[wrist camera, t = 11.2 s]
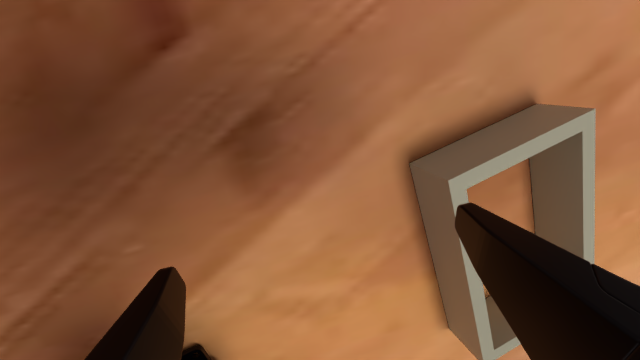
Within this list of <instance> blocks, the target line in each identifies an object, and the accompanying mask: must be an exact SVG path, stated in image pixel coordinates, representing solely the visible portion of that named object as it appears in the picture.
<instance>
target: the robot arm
mask: <svg viewBox="0 0 640 360" xmlns="http://www.w3.org/2000/svg"><path fill="white" fill-rule="evenodd" d="M455 229H456V232H457V234H458V236H459V238H460V240H461V242H462V244H463V246H464V248H465V250H466V253H467V255H468V257H469V259H470V261H471V263H472V265H473V267H474V269H475V271H476V273H477V274H478V276H479V278H480V279H481V281H482V282H483V284H484V286H485V287H486V289H487V290H488V292H489V294H490V295H491V297H492V298H493V300H494V302H495V303H496V305H497V306H498V308H499V310H500V311H501V313H502V314H503V316H504V318H505V319H506V321H507V322H508V324H509V326H510V327H511V329H512V330H513V332H514V334H515V335H516V337H517V338H518V340H519V342H520V343H521V345H522V346H523V348H524V350H525V351H526V353H527V354H528V356H529V358H530V359H531V360H640V286H638V285H636V284H634V283H631V282H629V281H627V280H625V279H623V278H621V277H619V276H617V275H615V274H613V273H611V272H609V271H607V270H605V269H603V268H601V267H599V266H597V265H595V264H591V263H590V262H589V261H587V260H585V259H583V258H581V257H579V256H577V255H575V254H573V253H571V252H569V251H567V250H565V249H563V248H561V247H559V246H557V245H555V244H553V243H551V242H549V241H547V240H545V239H543V238H541V237H539V236H537V235H535V234H533V233H531V232H529V231H527V230H525V229H523V228H521V227H519V226H517V225H515V224H513V223H511V222H509V221H507V220H505V219H503V218H501V217H499V216H497V215H495V214H493V213H491V212H489V211H487V210H485V209H483V208H481V207H479V206H477V205H476V204H473V203H465V204H461V205H459V206H458V207H457V211H456V217H455ZM185 303H186V286H185V283H184V281H183V279H182V278H181V276H180V274H179V273H178V271H177V270H176V268H174V267H168V268H163V269H160V270H159V271H158V272H157V273H156V274H155V275H154V276H153V278H152V279H151V280H150V281H149V282H148V284H147V285H146V286H145V287H144V288H143V290H142V291H141V292H140V293H139V294H138V296H137V297H136V298H135V299H134V300H133V302H132V303H131V304H130V305H129V306H128V308H127V309H126V310H125V311H124V312H123V314H122V315H121V316H120V317H119V318H118V320H117V321H116V322H115V323H114V324H113V326H112V327H111V328H110V329H109V330H108V332H107V333H106V334H105V335H104V336H103V338H102V339H101V340H100V341H99V343H98V344H97V345H96V346H95V347H94V349H93V350H92V351H91V352H90V353H89V355H88V356H87V357H86V358H85V359H84V360H211V359H210V357H209V356H208V354H207V353H206V352H205V350H204V349H203V347H201V346H199V345H196V346H193V347H191V348H189V349H187V350H185V351H183V352H182V350H183V342H184V331H185ZM196 352H197V354H194V353H196Z"/></svg>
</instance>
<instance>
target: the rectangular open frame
mask: <svg viewBox="0 0 640 360" xmlns="http://www.w3.org/2000/svg"><path fill="white" fill-rule="evenodd" d="M527 158H529V161H530V173H531V186H532V198H533V210H534V223H535V235H537V236H539V237H541V238H543V239H545V240H547V241H549V242H551V243H553V244H555V245H557V246H559V247H561V248H563V249H565V250H567V251H569V252H571V253H573V254H575V255H577V256H579V257H581V258H583V259H585V260H587V261H589V262H590V263H591V264H594V233H595V109H594V108H581V107H569V106H557V105H545V104H535V105H533V106H531V107H529V108H527V109H525V110H523V111H520V112H518V113H516V114H514V115H512V116H510V117H508V118H505V119H503V120H501V121H499V122H497V123H495V124H493V125H490V126H488V127H486V128H484V129H482V130H480V131H478V132H475V133H473V134H471V135H469V136H467V137H465V138H463V139H460V140H458V141H456V142H454V143H452V144H450V145H448V146H445V147H443V148H441V149H439V150H437V151H435V152H433V153H430V154H428V155H426V156H424V157H422V158H420V159H418V160H415V161H413V162H411V163H409V165H410V169H411V173H412V177H413V181H414V185H415V190H416V194H417V198H418V202H419V206H420V210H421V214H422V218H423V222H424V227H425V231H426V235H427V239H428V243H429V247H430V251H431V255H432V259H433V264H434V268H435V272H436V276H437V280H438V284H439V288H440V292H441V297H442V301H443V305H444V309H445V313H446V317H447V321H448V325H449V329H450V330H451V331H452V332H453V333H454V335H455V336H456V337H457V338H458V339H459V340H460V341H461V342H462V343H463V344H464V345H465V346H466V347H467V348H468V350H469V351H470V352H471V353H472V354H473V355H474V356H475V357H476V358H477V359H478V360H496V359H497V358H499V357H501V356H502V355H504V354H505V353H507V352H509V351H510V350H512V349H514V348H515V347H517V346H518V345H520V344H521V343H520V342H519V340H518V338H517V337H516V335H515V334H514V332H513V330H512V329H511V327H510V326H509V324H508V322H507V321H506V319H505V318H504V316H503V314H502V313H501V311H500V310H499V308H498V306H497V305H496V303H495V302H494V300H493V298H492V297H491V296H489V297H487V298H486V299H485V295H484V289H483V283H482V281H481V279H480V278H479V276H478V274H477V273H476V271H475V269H474V267H473V265H472V263H471V261H470V259H469V257H468V255H467V253H466V250H465V248H464V246H463V244H462V242H461V240H460V238H459V236H458V234H457V232H456V229H455V217H456V211H457V207H458V206H459V205H461V204H465V203H469V201H468V196H467V190H466V189H467V188H469V187H471V186H473V185H475V184H477V183H479V182H481V181H483V180H485V179H487V178H489V177H491V176H493V175H495V174H497V173H499V172H501V171H503V170H505V169H507V168H509V167H511V166H513V165H515V164H517V163H519V162H521V161H523V160H525V159H527Z"/></svg>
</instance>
